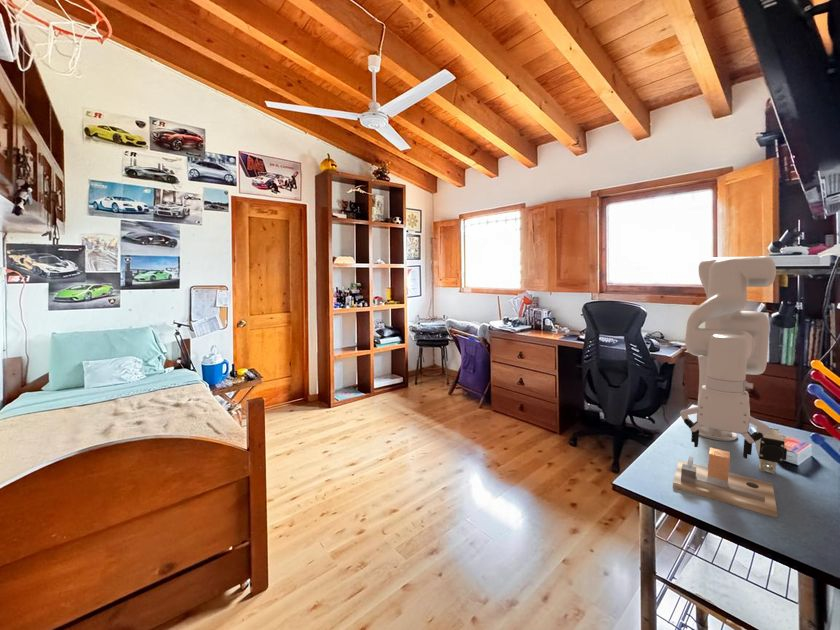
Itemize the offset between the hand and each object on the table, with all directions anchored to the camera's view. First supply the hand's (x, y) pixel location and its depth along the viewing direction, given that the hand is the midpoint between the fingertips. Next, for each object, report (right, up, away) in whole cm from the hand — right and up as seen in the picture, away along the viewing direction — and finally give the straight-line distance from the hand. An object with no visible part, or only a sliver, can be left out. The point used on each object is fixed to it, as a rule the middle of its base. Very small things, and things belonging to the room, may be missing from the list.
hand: (719, 450), depth 94 cm
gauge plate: (+4, -11, +4) cm, 13 cm away
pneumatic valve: (+23, -10, +11) cm, 27 cm away
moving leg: (+2, -9, +4) cm, 10 cm away
